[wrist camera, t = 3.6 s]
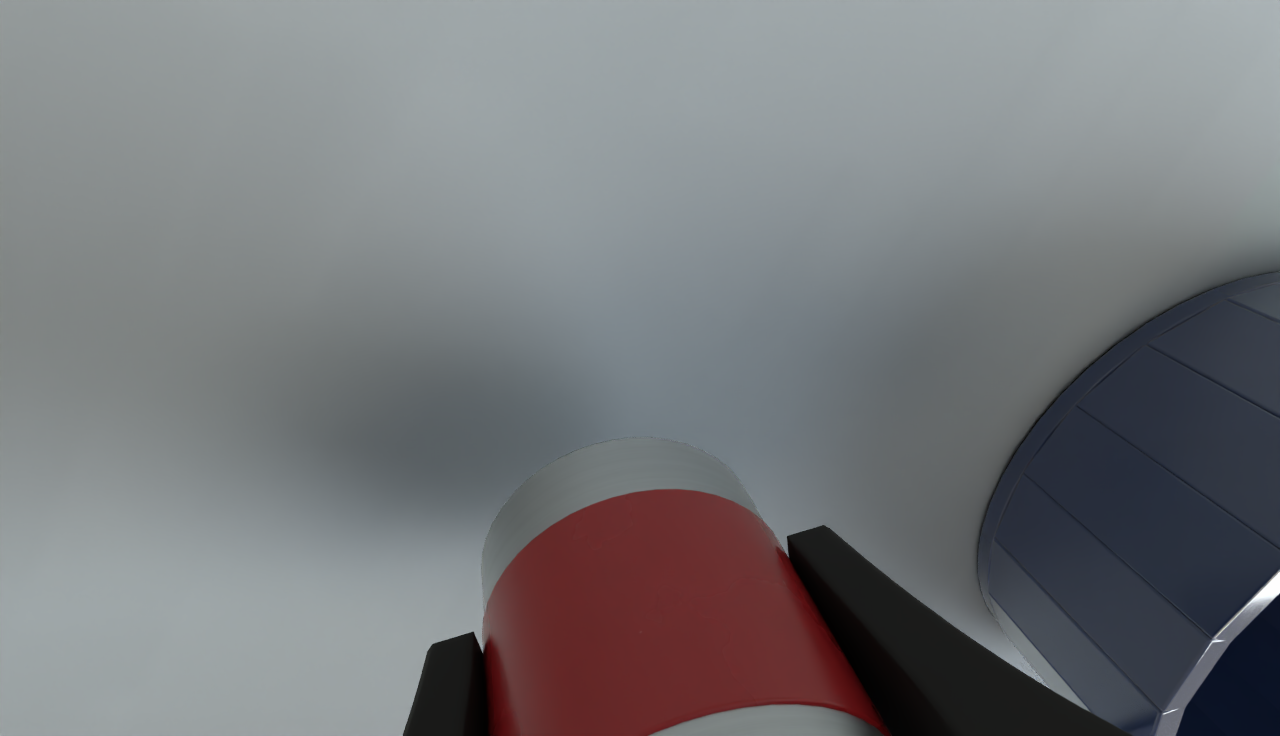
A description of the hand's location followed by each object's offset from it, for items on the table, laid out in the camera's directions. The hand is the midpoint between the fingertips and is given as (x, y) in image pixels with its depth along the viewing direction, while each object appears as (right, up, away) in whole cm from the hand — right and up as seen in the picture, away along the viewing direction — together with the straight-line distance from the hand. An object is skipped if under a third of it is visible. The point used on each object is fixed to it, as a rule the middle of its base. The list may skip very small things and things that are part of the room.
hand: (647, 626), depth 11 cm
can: (0, +1, +1) cm, 2 cm away
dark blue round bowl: (+14, +1, +8) cm, 17 cm away
